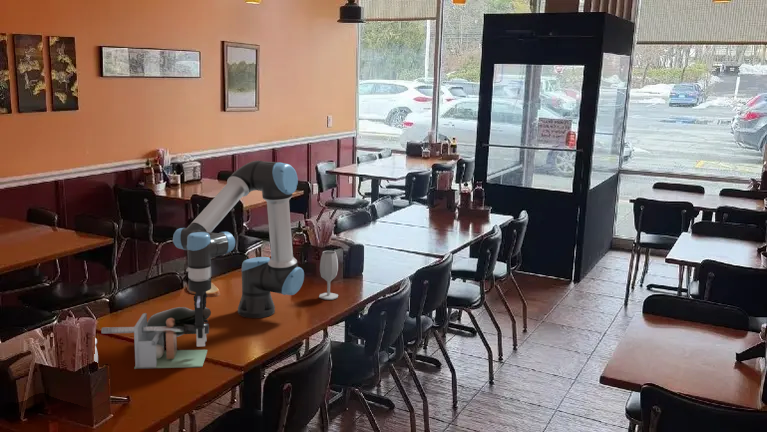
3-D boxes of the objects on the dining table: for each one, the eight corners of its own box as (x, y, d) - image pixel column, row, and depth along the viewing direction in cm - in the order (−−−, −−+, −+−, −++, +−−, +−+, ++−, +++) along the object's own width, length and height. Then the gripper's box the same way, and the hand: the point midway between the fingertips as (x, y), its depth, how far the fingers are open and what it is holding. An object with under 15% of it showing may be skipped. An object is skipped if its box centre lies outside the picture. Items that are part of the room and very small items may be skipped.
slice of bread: (218, 298, 303) (218, 290, 303) (178, 296, 304) (178, 288, 304) (229, 286, 321) (229, 278, 320) (192, 284, 322) (191, 277, 321)
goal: (164, 351, 241) (162, 313, 238) (156, 368, 228) (154, 327, 225) (144, 352, 240) (143, 313, 238) (135, 368, 227) (133, 327, 224)
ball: (153, 339, 235) (148, 352, 236) (150, 345, 230) (145, 358, 231) (167, 345, 236) (162, 357, 237) (164, 350, 231) (159, 363, 232)
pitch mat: (207, 350, 243) (207, 349, 243) (202, 366, 230) (202, 365, 229) (143, 352, 240) (143, 351, 240) (134, 368, 227) (134, 367, 227)
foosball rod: (210, 351, 239) (209, 314, 237) (208, 357, 233) (207, 320, 231) (105, 353, 235) (104, 316, 232) (101, 360, 229) (99, 322, 226)
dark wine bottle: (139, 329, 246) (187, 313, 224) (156, 307, 253) (204, 290, 231) (160, 347, 250) (209, 334, 228) (176, 326, 257) (225, 311, 235)
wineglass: (315, 298, 305) (315, 253, 301) (324, 293, 313) (324, 249, 309) (333, 301, 302) (333, 255, 298) (341, 296, 310) (342, 251, 306)
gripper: (191, 271, 238) (193, 335, 243) (184, 285, 222) (187, 353, 227) (213, 271, 239) (215, 334, 244) (208, 285, 223) (210, 352, 228)
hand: (201, 343), depth 235 cm, fingers closed on foosball rod, 4 cm apart
